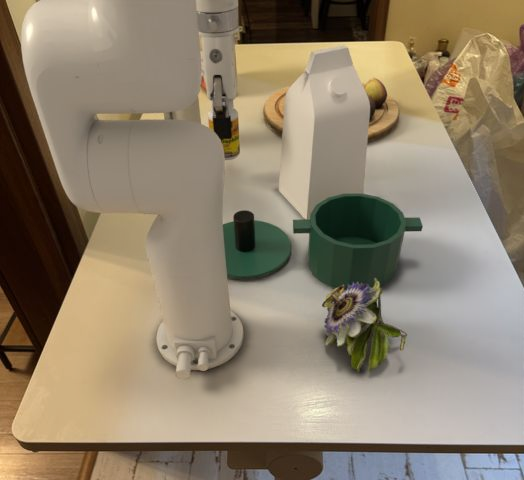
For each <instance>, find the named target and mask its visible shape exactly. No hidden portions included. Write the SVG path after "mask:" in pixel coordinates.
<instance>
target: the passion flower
mask: <svg viewBox="0 0 524 480" xmlns="http://www.w3.org/2000/svg"><path fill="white" fill-rule="evenodd" d="M344 288H345V285H341V286H340V287H338V288H333V290H332V291H331V292H330V293H327V294H326V296H325V300H324V301H323V302H322V304H321V307H322V308H326V310H327V315H326V318H325V319H324V323H325V325H324V326H323V327H324V328H326V332H325V336H327V338H326V340H325V344H324V345H325V346H327V347H332V346H333V345H334V344H336V346H337V347H342V346H344V345H346V351H347V354H348V355H349V356H351V357H350V365H351V369H353V370H355V371H356V372H357V373H360V370H361V367H362V366H363V365H364V363H365V361H366V356H367V351H368V347H369V346H368V343H369V341H370V340H371V342H370V343H371V344H370V355H369V356H368V369H367V370H368V373H370V372H372V371H373V370H375V369H376V368H378V366H379V365H381V364H382V363H383V362H384V361H385V359H386V358H387V357H388V354H389V351H390V349H391V348H390V347H391V345H390V340H389V338H388V337H391V338H399V337H400V344H399V351H400V352H402V351H404V348H405V344H406V338H407V336H408V334H407V332H406V331H404V330H402V329H400V328H398V327H396V326H393V325H391V324H388V323H385V322H384V319H383V316H382V303H381V302H382V300H381V299H382V298H381V296H382V292H383V288H381V286H380V283H379V281H378V280H377V279H376V278H374V285H373V287H372V288H370V287H369V284H366V283H365V284H364V285H363V283H362V282H361V284H359V282H356V284H354V282H353V284H352V285H349V284H348V288H347V290H344ZM367 325H368V326H367ZM366 326H367V327H366ZM364 328H366V329H364ZM363 329H364V330H363ZM362 330H363V331H362ZM402 333H403V334H402Z"/></svg>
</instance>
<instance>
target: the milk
mask: <svg viewBox="0 0 524 480" xmlns="http://www.w3.org/2000/svg"><path fill="white" fill-rule="evenodd" d="M362 84H363V83H362V81H361V78H360V77H359V75H358V72H357V70H356V68H355V66H354V62H353V59H352V56H351V52H350V49H349V46H346V45H345V44H341V45H337V46H331V47H326V48H321V49H316V50H312V51H310V54H309V57H308V60H307V63H306V65H305V69H304V72H303V73H302V74H301V75H300V76H299V77H297V78H296V80H295V81H294V82H293V83H292V84H291V85H292V86H291V87H290V88H289V89H288V91H287V92H286V95H285V103H284V118H283V133H282V134H281V147H280V148H281V150H280V163H279V178H278V179H279V180H278V192H279V193H281V195H282V196H283V197H284V198H285V199H286V201H288V202H289V203H290V205H291V206H292V207H293V208H294V209H295V210H296V211H297V212H298V213H299V215H301V216H302V218H303V219H310V214H311V212H312V211H313V209H314V208H315V206H316V205H317V204H318V203H320V202H322V201H323V200H325V199H327V198H329V197H333V196H337V195H341V194H354V193H361V194H364V187H365V186H364V185H365V177H366V165H367V153H368V151H367V150H368V142H369V141H368V129H369V117H370V103H369V99H368V96H367V94H366V91H365V89H364V87H363V85H362ZM367 141H368V142H367Z"/></svg>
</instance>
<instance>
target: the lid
mask: <svg viewBox="0 0 524 480" xmlns="http://www.w3.org/2000/svg"><path fill="white" fill-rule="evenodd" d="M232 217H233V221H229V222H226V223H223V235H224V246H225V258H226V269H227V278H231V279H254V278H259V277H265V276H267V275H270V274H272V273H274V272H276V271H278V270H279V269H280V268H282V267H283V266H284V265H285V264H286V263H287V261H288V260H289V259H290V256H291V253H292V241H291V240H290V239H291V238H289V236H288V233H286V232H285V231H284V230H283V229H281V228H280V227H279V226H276V225H275V224H272V223H270V222H266V221H262V220H256V219H255V214H254V212H252V211H250V210H245V209H244V210H238V211H236V212H235V213H234V214H233V216H232Z"/></svg>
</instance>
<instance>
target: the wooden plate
mask: <svg viewBox="0 0 524 480" xmlns="http://www.w3.org/2000/svg"><path fill="white" fill-rule="evenodd" d="M362 85H363V87H364V89H365V91H366V94H367V96H368V99H369V103H370V117H369V129H368V141H367V143H368V142H371V141H373V140H377V139H379V138H381V137H383V136H385V135H387V134H388V133H390V132H391V131H392V130H393V129H394V128H395V127H396V125H397V124H398V122H399V118H400V113H401V111H400V107H399V105H398V103H397V102H396V100H395V99H394V98H393V97H392V96H391V95H390V94H388V92H387V88H386V86H385V84H384V83H383V82H382V81H380V80H379V79H378V78H377V77H372V78H370V79H369V80H368V81H367V82H366V83H362ZM291 86H292V84H290V85H286V86H285V87H281V88H279V89H278V90H277V91H275V92H273V93H272V94H271V95H270V96H269V97H267V99H266V101H265V103H264V105H263V118H264V121H265V122H266V124H268V126H269V127H270V128H271V129H272V130H274V131H276V132H277V133H278V134H280V135H282V133H283V118H284V103H285V95H286V92H287V91H288V89H289V88H290V87H291Z"/></svg>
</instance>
